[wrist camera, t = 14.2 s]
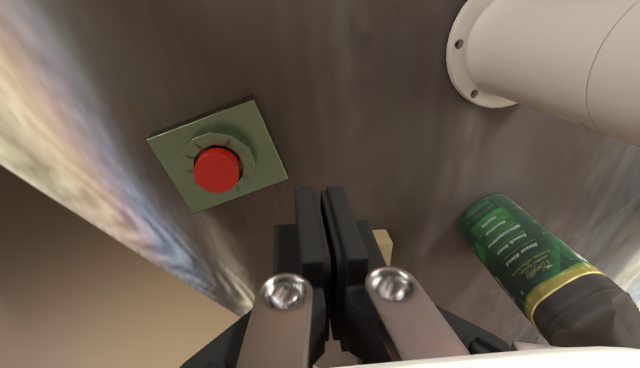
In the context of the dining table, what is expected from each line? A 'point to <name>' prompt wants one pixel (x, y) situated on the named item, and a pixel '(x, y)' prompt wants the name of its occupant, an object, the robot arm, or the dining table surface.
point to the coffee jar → (549, 278)
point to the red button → (217, 170)
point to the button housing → (225, 132)
